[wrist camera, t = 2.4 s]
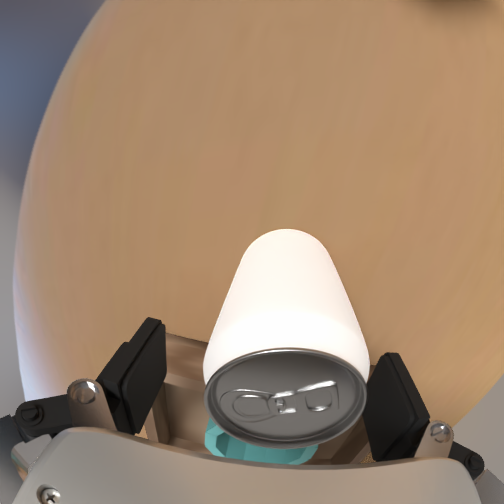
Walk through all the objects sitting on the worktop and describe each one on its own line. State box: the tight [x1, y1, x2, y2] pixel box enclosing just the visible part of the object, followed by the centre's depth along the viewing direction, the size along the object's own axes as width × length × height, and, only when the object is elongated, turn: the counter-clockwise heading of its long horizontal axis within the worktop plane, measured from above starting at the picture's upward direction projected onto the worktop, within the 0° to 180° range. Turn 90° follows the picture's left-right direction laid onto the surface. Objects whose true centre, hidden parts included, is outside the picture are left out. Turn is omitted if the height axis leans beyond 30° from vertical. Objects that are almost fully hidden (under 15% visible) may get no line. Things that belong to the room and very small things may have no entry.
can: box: [203, 229, 370, 449], centre depth 14 cm, size 6×6×12 cm
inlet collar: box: [205, 418, 318, 465], centre depth 22 cm, size 10×10×4 cm
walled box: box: [144, 333, 376, 465], centre depth 23 cm, size 22×17×4 cm
